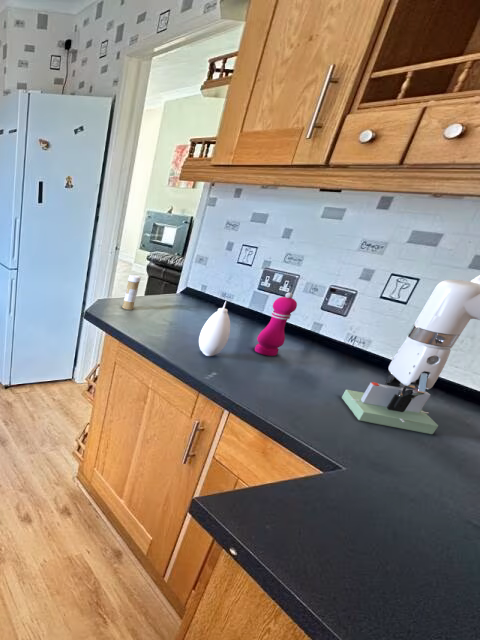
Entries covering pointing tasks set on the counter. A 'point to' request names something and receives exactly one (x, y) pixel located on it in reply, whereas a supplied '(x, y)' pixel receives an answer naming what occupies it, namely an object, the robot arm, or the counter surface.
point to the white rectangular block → (391, 396)
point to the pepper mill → (276, 326)
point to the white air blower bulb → (215, 332)
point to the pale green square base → (388, 414)
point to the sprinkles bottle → (131, 292)
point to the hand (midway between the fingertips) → (390, 404)
